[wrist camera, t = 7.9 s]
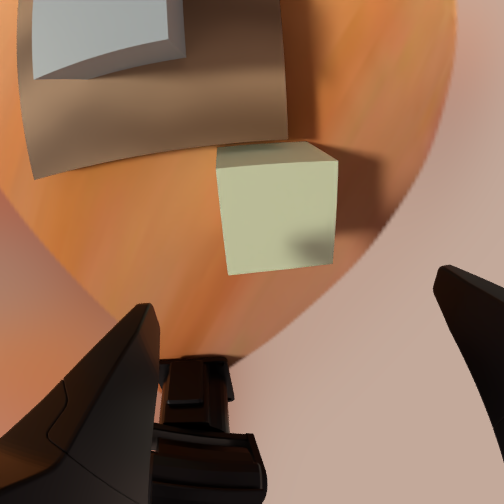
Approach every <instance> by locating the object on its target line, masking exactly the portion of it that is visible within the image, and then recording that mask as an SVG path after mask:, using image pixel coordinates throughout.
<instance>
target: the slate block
mask: <svg viewBox="0 0 504 504" xmlns="http://www.w3.org/2000/svg"><path fill="white" fill-rule="evenodd" d="M180 58H186V47H185V32H184V17H183V0H33V11H32V61H33V78H34V80H40V79H83V80H88V79H92V78H95V77H98V76H102V75H106V74H109V73H113V72H117V71H121V70H125V69H129V68H133V67H138V66H142V65H147V64H152V63H157V62H162V61H168V60H174V59H180Z"/></svg>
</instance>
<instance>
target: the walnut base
mask: <svg viewBox="0 0 504 504" xmlns="http://www.w3.org/2000/svg"><path fill="white" fill-rule="evenodd" d="M32 11H33V0H19V2H18V17H17V68H18V84H19V95H20V104H21V112H22V119H23V126H24V132H25V138H26V144H27V149H28V154H29V159H30V164H31V168H32V173H33V177H34V180H36V179H40V178H43V177H47V176H51V175H54V174H58V173H62V172H66V171H70V170H74V169H78V168H82V167H86V166H91V165H95V164H100V163H104V162H109V161H114V160H119V159H124V158H130V157H135V156H141V155H146V154H152V153H158V152H165V151H172V150H178V149H186V148H193V147H201V146H210V145H219V144H229V143H240V142H253V141H267V140H286V139H288V121H287V99H286V81H285V64H284V49H283V35H282V22H281V10H280V0H183V17H184V32H185V47H186V58H180V59H174V60H168V61H162V62H157V63H152V64H147V65H142V66H138V67H133V68H129V69H125V70H121V71H117V72H113V73H109V74H106V75H102V76H98V77H95V78H92V79H88V80H83V79H40V80H34V78H33V61H32Z"/></svg>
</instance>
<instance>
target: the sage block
mask: <svg viewBox="0 0 504 504" xmlns="http://www.w3.org/2000/svg"><path fill="white" fill-rule="evenodd" d="M216 175H217V184H218V193H219V202H220V211H221V220H222V229H223V237H224V245H225V254H226V262H227V270H228V275H236V274H246V273H255V272H264V271H274V270H283V269H292V268H300V267H309V266H318V265H326V264H333V252H334V239H335V225H336V207H337V185H338V160H336V159H334V158H333V157H331V156H330V155H328V154H327V153H325V152H323V151H322V150H320V149H318V148H317V147H315V146H313V145H312V144H310V143H308V142H307V141H305V142H280V143H263V144H249V145H237V146H227V147H217V160H216Z"/></svg>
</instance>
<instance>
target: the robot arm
mask: <svg viewBox="0 0 504 504" xmlns="http://www.w3.org/2000/svg"><path fill="white" fill-rule="evenodd" d="M433 292H434V295H435V297H436V300H437V302H438V304H439V306H440V309H441V311H442V313H443V316H444V318H445V320H446V323H447V325H448V327H449V330H450V332H451V334H452V336H453V337H454V340H455V342H456V343H457V345H458V347H459V349H460V352H461V354H462V356H463V357H464V360H465V362H466V364H467V366H468V368H469V370H470V373H471V375H472V377H473V379H474V382H475V383H476V386H477V389H478V391H479V393H480V396H481V398H482V401H483V403H484V405H485V408H486V411H487V413H488V416H489V418H490V421H491V424H492V426H493V430H494V433H495V436H496V438H497V442H498V445H499V448H500V451H501V454H502V458H503V461H504V288H503V287H501V286H498V285H496V284H494V283H492V282H490V281H487V280H485V279H483V278H480V277H478V276H476V275H473V274H471V273H469V272H466V271H464V270H462V269H459V268H457V267H454V266H452V265H445V266H441V267H440V268H439V269H438V272H437V276H436V279H435V282H434V286H433ZM159 351H160V326H159V323H158V320H157V317H156V314H155V311H154V308H153V306H152V304H151V303H141V304H137V305H136V306H135V307H134V308H133V309H132V310H131V311H130V312H129V313H127V314H126V315H125V316H124V317H123V318H122V319H121V320H120V321H119V322H118V323H117V324H116V325H115V326H114V327H113V328H112V329H111V330H110V331H109V332H108V333H107V334H106V335H105V336H104V337H103V338H102V339H101V340H100V341H99V342H98V343H97V344H96V345H95V346H94V347H93V348H92V349H91V350H90V351H89V352H88V353H87V354H86V355H85V356H84V357H83V359H81V361H79V362H78V364H77V365H76V366H75V367H74V368H73V369H72V370H71V371H70V372H69V373H68V374H67V375H66V376H65V377H64V380H61V381H60V383H58V384H57V385H56V386H55V387H54V389H52V390H51V392H50V393H49V394H48V395H47V396H46V397H45V398H44V399H43V400H42V401H41V402H40V403H38V404H37V405H36V406H35V407H34V408H33V409H32V410H31V411H30V412H29V413H28V414H27V415H25V416H24V417H23V418H22V419H21V420H20V421H19V422H18V423H17V424H16V425H14V426H13V427H12V428H11V429H10V430H9V431H8V432H7V433H6V434H4V435H3V436H2V437H1V438H0V504H262V502H263V501H264V499H265V496H266V492H267V475H266V470H265V467H264V464H263V461H262V458H261V456H260V453H259V449H258V447H257V444H256V441H255V437H254V435H253V434H249V433H246V434H234V433H230V431H229V417H228V416H229V415H228V402H230V401H233V400H234V392H233V387H232V383H231V378H230V373H229V367H228V362H227V359H226V358H224V357H216V358H203V359H188V360H168V361H159ZM158 382H159V384H160V386H161V388H162V398H161V408H160V417H159V423H154V414H155V406H156V397H157V390H158ZM151 450H155V451H156V452H154V451H151Z"/></svg>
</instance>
